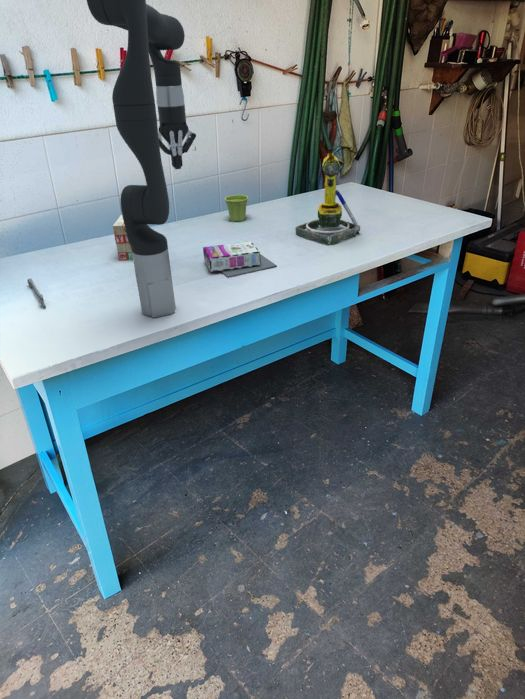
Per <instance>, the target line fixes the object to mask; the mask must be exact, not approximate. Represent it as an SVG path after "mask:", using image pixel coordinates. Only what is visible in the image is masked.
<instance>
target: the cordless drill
mask: <svg viewBox="0 0 525 699" xmlns="http://www.w3.org/2000/svg"><path fill="white" fill-rule="evenodd" d="M321 166H322V171H323V174H324V175H325V181H324V202H322V203H320V204H319V205H318V207H317V218H318V219H314V220H310V221H308V222H304V223H303V224H300V225H297V226H296V227H295V235H297V236H298V237H300V238H302V237H303V238H302V239H305V240H314V241H316V242H317V243H320V244H321V245H326V246H328V245H329V244H330V245H331V246H332V245H335V244H339V243H340V242H341V241H343V240H344V239H351V238H353V237H354V238H355V237H356V235H357V234H360V231H361V225H359V224H358V222H357V219H356V217H355V216H354V214H353V212H352V211H351V210H350V207H349V206H348V204H347V202H346V200H345V198H344V197H343V195H342V194H341V192H340V191H339V190H338V189H337V187H336V186H337V181H336V180H337V178H336V177H337V176H338V175H339V172H340V170H341V165H340V160H339V159H338V158H337V157H336V156H335V154H334V153H327V156H325V157H324V158H323V160H322V165H321ZM336 196H337V197H338V200H339V202H340V203H341V205H340V204H339V203H338V202H336ZM342 206H343V208H344V210H345V211H346V213H347V215H348V216H349V218H350V220H351V221H352V222H349V221H345V220H342V216H343V212H342V211H343V208H342ZM340 225H341V226H343V227H344V228H342V229H337V230H319V229H315V228H318V227H320V228H322V229H323V228H327V229H328V228H329V229H330V228H333V229H334V228H335V229H336V228H339V227H340ZM312 228H313V229H312Z"/></svg>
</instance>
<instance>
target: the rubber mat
mask: <svg viewBox="0 0 525 699" xmlns="http://www.w3.org/2000/svg"><path fill="white" fill-rule="evenodd" d="M260 258H261V260H260V261H261V265H260V266H253V267H246V268H238V269H230V270H223V271H221V272H220V273H221V274H223V275H224V276H225V277H226V278H227V277H228V279H229V277H230V278H233V277H238V275H239V276H241V275H247V273H248V274H251V273H256V272H260V271H264V270H269V269H274V268H278V266H277V264H275V263H274V262H272V261H271V260H269V259H268V258H267V257H265V256H264V255H263V254H261V253H260Z"/></svg>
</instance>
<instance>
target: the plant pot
mask: <svg viewBox="0 0 525 699" xmlns="http://www.w3.org/2000/svg"><path fill="white" fill-rule="evenodd" d="M248 199H249V196H248V195H244V194H233V195H227V196H226V197H224V201H225V203H226V206H227V211H228V215H229V219H230V221H231V222H243V221H245V220H246V215H247V213H246V212H247V204H248Z"/></svg>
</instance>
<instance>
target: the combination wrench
mask: <svg viewBox="0 0 525 699" xmlns="http://www.w3.org/2000/svg"><path fill="white" fill-rule="evenodd" d="M27 284H28V286H29V287H30V288H31V289H33V290H34V293H35V294H36V296H37V298H38V299H39V300H40V303H41V306H42V308H46V307H47V306H46V303H45V301H44V295H43V294H42V293H40V290H38V289H37V287H36V285H35V283H34V281H33V279H32V278H28V279H27Z"/></svg>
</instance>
